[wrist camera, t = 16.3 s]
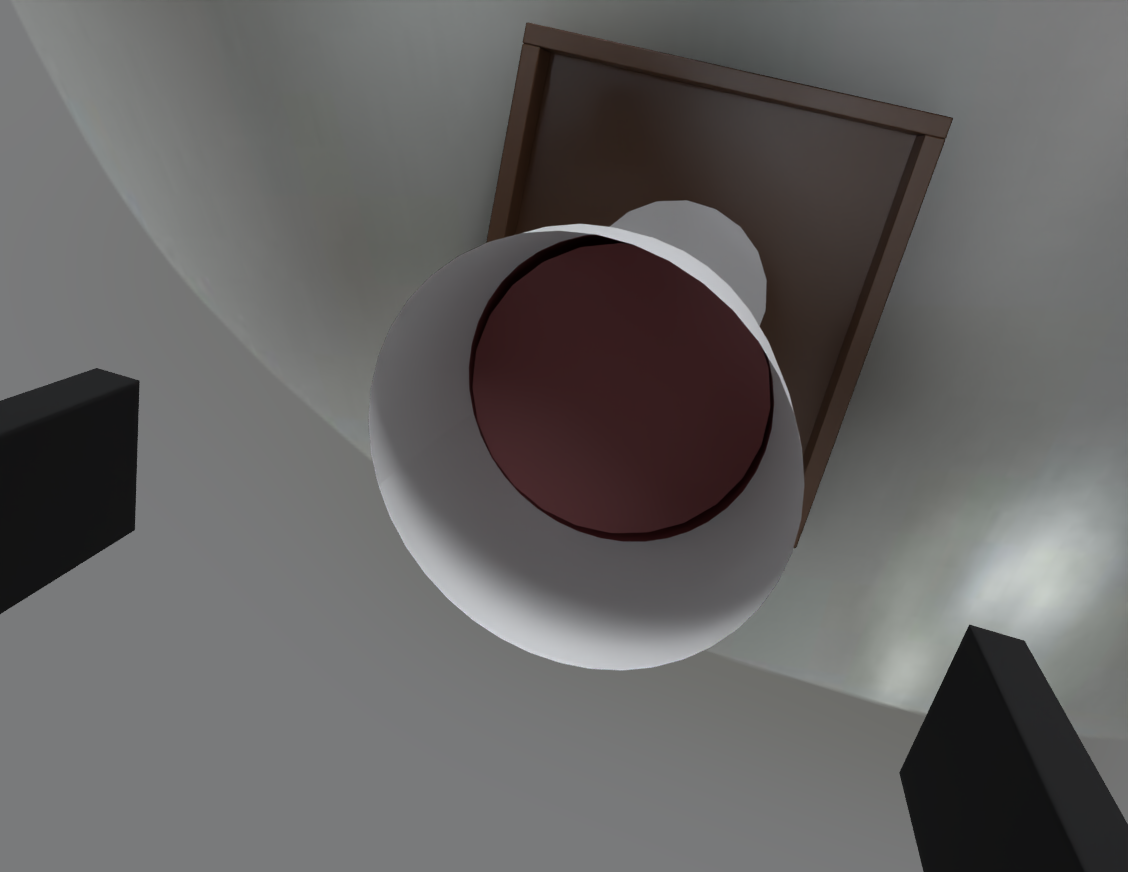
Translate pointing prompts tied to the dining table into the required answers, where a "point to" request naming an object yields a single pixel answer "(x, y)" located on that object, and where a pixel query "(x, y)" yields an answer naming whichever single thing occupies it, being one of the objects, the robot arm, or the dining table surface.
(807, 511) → the tray
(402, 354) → the wineglass
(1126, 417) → the dining table surface
